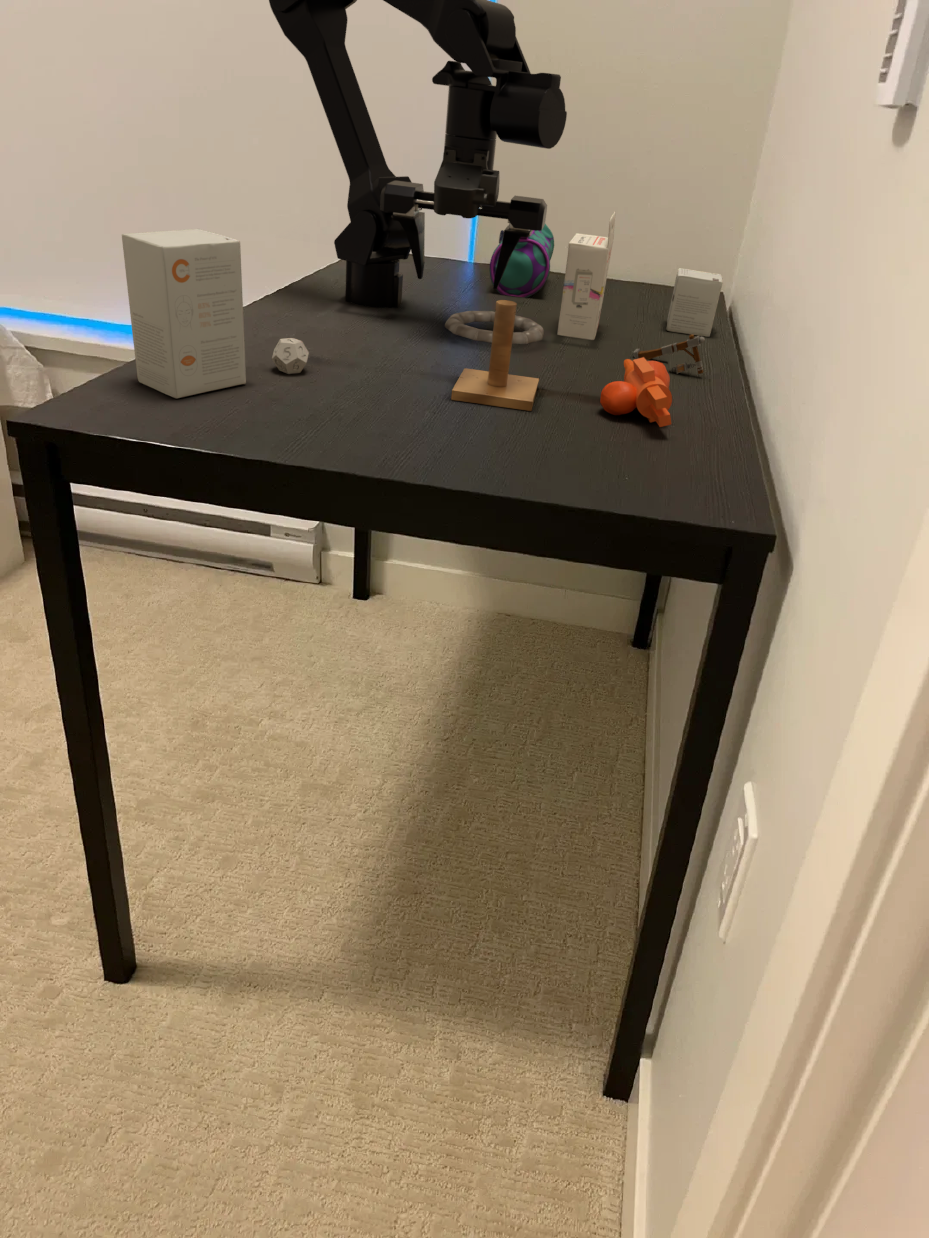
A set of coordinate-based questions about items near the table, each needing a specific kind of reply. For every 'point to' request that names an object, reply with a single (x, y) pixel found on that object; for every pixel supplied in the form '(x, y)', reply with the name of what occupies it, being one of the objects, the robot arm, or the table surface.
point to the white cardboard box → (694, 302)
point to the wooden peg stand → (498, 370)
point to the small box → (186, 310)
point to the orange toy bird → (640, 391)
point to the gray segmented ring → (459, 319)
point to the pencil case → (525, 264)
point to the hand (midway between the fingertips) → (457, 283)
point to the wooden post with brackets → (675, 348)
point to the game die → (290, 355)
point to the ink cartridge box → (585, 284)
